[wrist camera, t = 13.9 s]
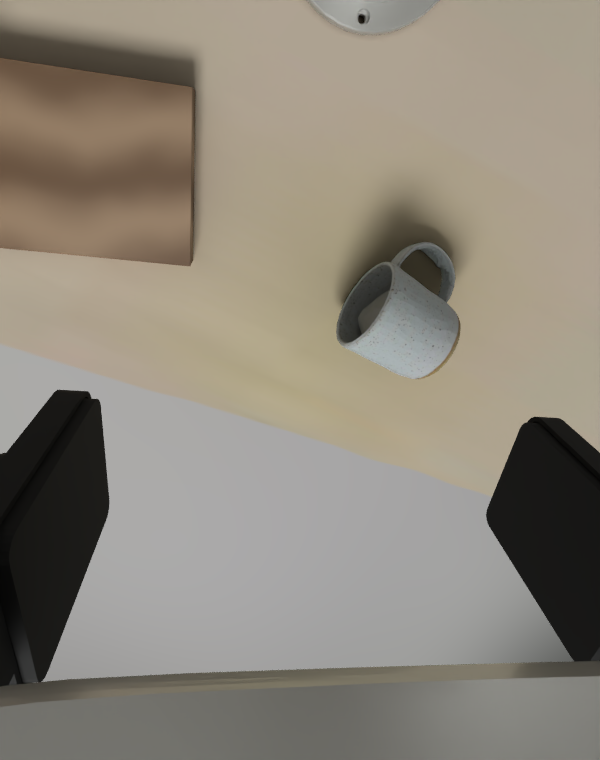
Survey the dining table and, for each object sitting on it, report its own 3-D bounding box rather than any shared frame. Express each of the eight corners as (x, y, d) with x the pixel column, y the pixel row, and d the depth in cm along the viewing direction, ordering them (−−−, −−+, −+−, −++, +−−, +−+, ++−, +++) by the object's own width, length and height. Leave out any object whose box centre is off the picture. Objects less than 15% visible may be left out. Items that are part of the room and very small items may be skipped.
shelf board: (-198, 30, 28) (-271, 12, 24) (195, 90, 32) (187, 82, 28) (-138, 227, 34) (-190, 238, 30) (192, 260, 37) (186, 274, 33)
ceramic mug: (398, 363, 44) (426, 402, 37) (328, 324, 41) (344, 358, 34) (468, 267, 40) (513, 291, 33) (395, 219, 38) (429, 233, 31)
